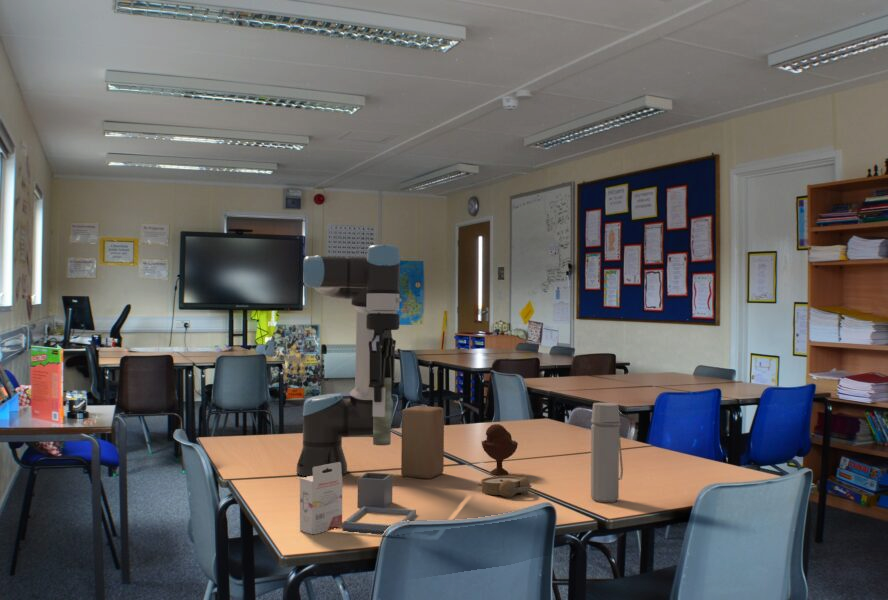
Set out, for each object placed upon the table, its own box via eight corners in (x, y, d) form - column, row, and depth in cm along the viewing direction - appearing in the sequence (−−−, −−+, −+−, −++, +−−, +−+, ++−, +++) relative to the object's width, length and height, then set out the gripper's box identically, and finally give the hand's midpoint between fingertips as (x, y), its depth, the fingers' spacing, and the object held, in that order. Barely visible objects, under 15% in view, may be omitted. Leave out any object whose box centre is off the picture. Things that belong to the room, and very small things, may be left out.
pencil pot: (357, 511, 178) (357, 478, 179) (366, 504, 185) (366, 472, 185) (384, 513, 177) (384, 479, 177) (392, 506, 184) (392, 473, 184)
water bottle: (601, 504, 187) (602, 406, 187) (584, 497, 194) (584, 402, 195) (631, 501, 191) (631, 404, 191) (612, 494, 198) (613, 401, 198)
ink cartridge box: (328, 522, 168) (329, 458, 169) (342, 527, 165) (343, 461, 165) (298, 530, 162) (299, 463, 162) (312, 535, 159) (313, 467, 159)
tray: (342, 531, 162) (342, 522, 162) (363, 514, 175) (363, 506, 175) (399, 536, 159) (399, 526, 159) (416, 518, 173) (416, 510, 173)
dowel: (370, 444, 166) (371, 378, 166) (376, 442, 170) (377, 377, 170) (387, 445, 165) (388, 379, 165) (392, 442, 169) (393, 377, 169)
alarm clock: (501, 474, 208) (539, 474, 197) (503, 492, 207) (542, 493, 196) (471, 480, 201) (509, 480, 190) (473, 498, 200) (511, 499, 189)
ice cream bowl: (516, 478, 216) (516, 427, 217) (478, 476, 219) (478, 425, 219) (519, 470, 227) (519, 422, 227) (483, 469, 229) (483, 420, 229)
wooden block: (444, 473, 222) (445, 407, 222) (430, 480, 213) (430, 410, 213) (415, 470, 226) (416, 405, 227) (399, 476, 217) (400, 408, 218)
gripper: (387, 312, 159) (386, 420, 158) (408, 313, 176) (407, 411, 175) (355, 312, 161) (353, 419, 160) (378, 312, 177) (377, 410, 177)
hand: (381, 414), depth 168 cm, fingers closed on dowel, 4 cm apart
